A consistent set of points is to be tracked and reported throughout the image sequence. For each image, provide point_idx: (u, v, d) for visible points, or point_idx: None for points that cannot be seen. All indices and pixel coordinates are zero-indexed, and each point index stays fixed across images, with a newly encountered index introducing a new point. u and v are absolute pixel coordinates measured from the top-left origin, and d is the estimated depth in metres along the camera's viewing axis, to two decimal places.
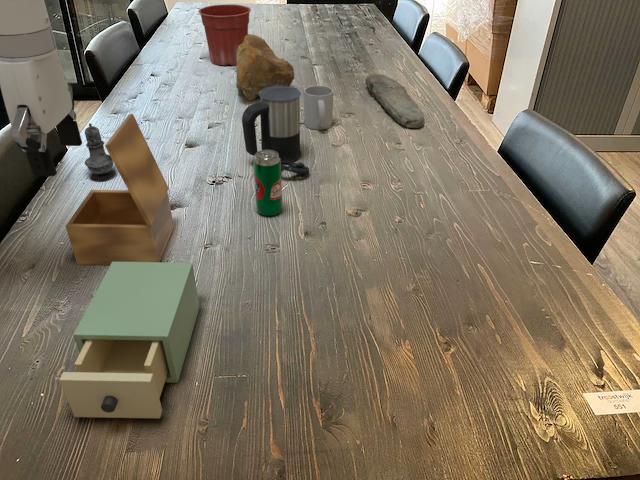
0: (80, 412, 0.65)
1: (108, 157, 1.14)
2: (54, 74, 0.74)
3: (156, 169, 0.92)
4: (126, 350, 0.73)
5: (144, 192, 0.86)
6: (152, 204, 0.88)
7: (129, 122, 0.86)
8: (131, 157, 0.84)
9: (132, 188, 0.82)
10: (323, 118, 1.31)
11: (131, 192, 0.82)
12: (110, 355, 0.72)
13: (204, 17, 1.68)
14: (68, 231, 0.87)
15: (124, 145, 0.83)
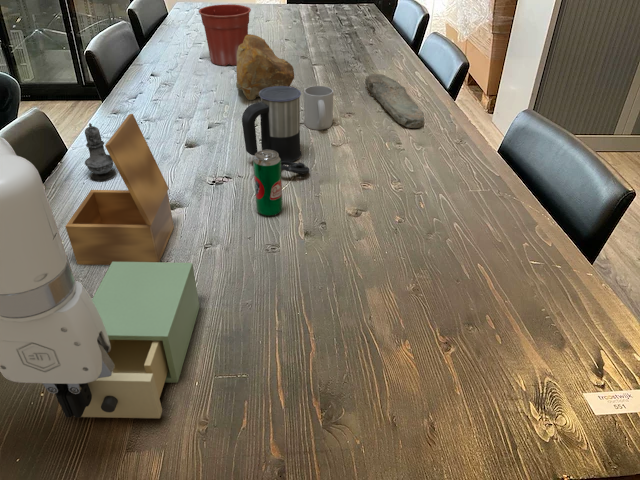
0: None
1: (108, 157, 1.14)
2: None
3: (156, 169, 0.92)
4: (126, 350, 0.73)
5: (144, 192, 0.86)
6: (152, 204, 0.88)
7: (129, 122, 0.86)
8: (131, 157, 0.84)
9: (132, 188, 0.82)
10: (323, 118, 1.31)
11: (131, 192, 0.82)
12: (110, 355, 0.72)
13: (204, 17, 1.68)
14: (68, 231, 0.87)
15: (124, 145, 0.83)
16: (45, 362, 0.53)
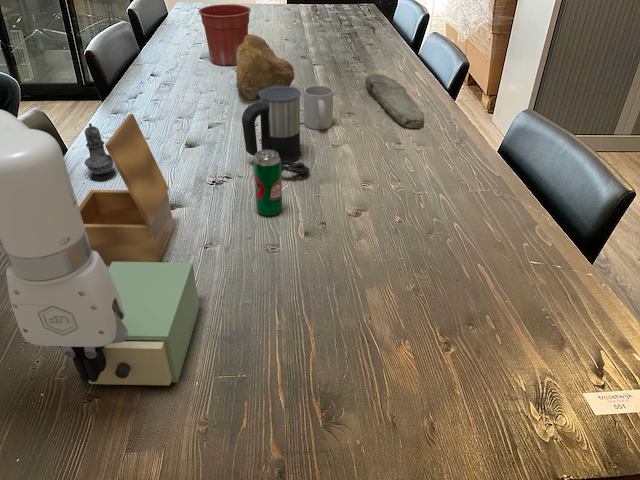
0: None
1: (108, 157, 1.14)
2: None
3: (156, 169, 0.92)
4: None
5: (144, 192, 0.86)
6: (152, 204, 0.88)
7: (129, 122, 0.86)
8: (131, 157, 0.84)
9: (132, 188, 0.82)
10: (323, 118, 1.31)
11: (131, 192, 0.82)
12: None
13: (204, 17, 1.68)
14: None
15: (124, 145, 0.83)
16: (64, 325, 0.57)
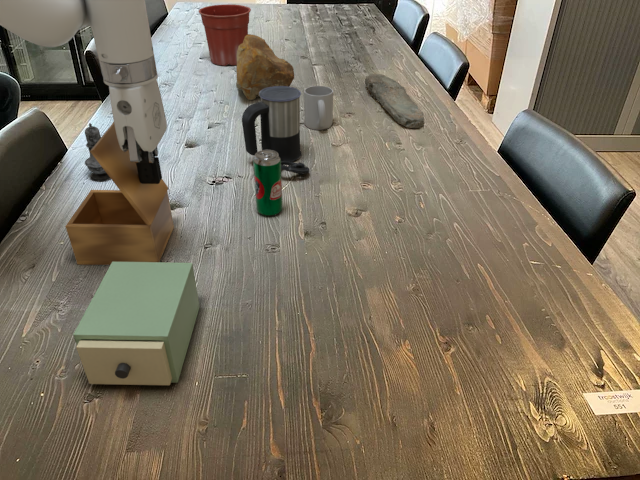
0: (95, 379, 0.69)
1: None
2: None
3: None
4: None
5: (139, 193, 0.86)
6: (150, 204, 0.88)
7: None
8: (121, 160, 0.84)
9: (125, 190, 0.83)
10: (323, 118, 1.31)
11: (125, 194, 0.83)
12: None
13: (204, 17, 1.68)
14: (68, 231, 0.87)
15: (112, 149, 0.83)
16: (157, 119, 0.82)
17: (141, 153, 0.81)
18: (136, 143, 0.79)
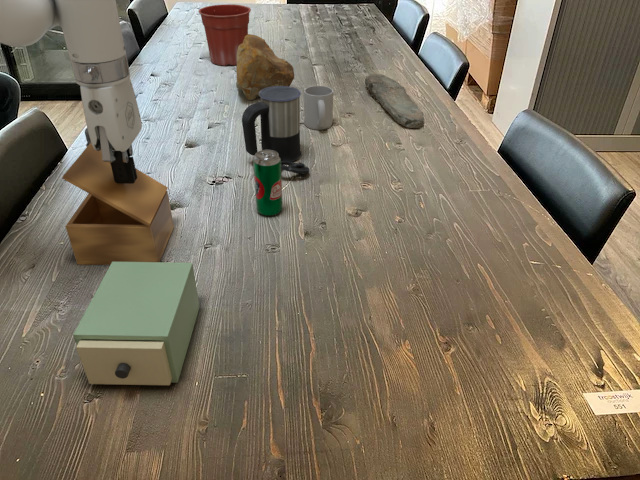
0: (95, 379, 0.69)
1: None
2: None
3: (142, 176, 0.93)
4: None
5: (129, 199, 0.87)
6: (145, 207, 0.88)
7: (88, 150, 0.89)
8: (100, 176, 0.86)
9: (110, 201, 0.84)
10: (323, 118, 1.31)
11: (112, 205, 0.84)
12: None
13: (204, 17, 1.68)
14: (68, 231, 0.87)
15: (87, 170, 0.85)
16: (131, 119, 0.82)
17: (114, 153, 0.81)
18: (109, 143, 0.79)
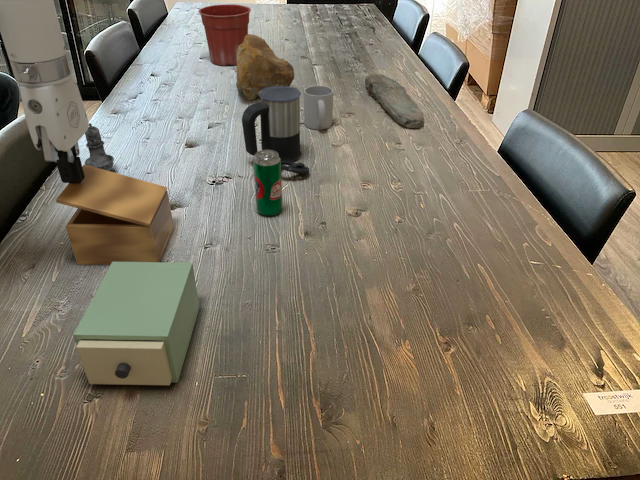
0: (95, 379, 0.69)
1: (108, 157, 1.14)
2: None
3: (139, 183, 0.94)
4: None
5: (126, 206, 0.87)
6: (144, 209, 0.88)
7: None
8: (95, 192, 0.88)
9: (106, 211, 0.85)
10: (323, 118, 1.31)
11: (109, 215, 0.85)
12: None
13: (204, 17, 1.68)
14: (68, 231, 0.87)
15: (81, 189, 0.87)
16: (75, 119, 0.82)
17: (58, 152, 0.81)
18: (50, 142, 0.79)
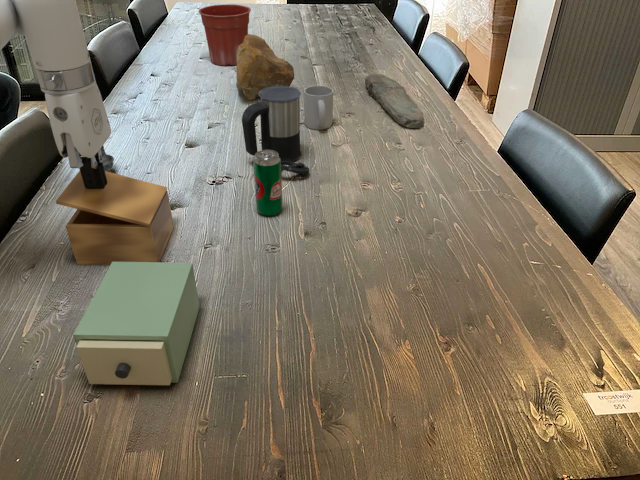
0: (95, 379, 0.69)
1: (108, 157, 1.14)
2: None
3: (139, 183, 0.94)
4: None
5: (126, 206, 0.87)
6: (144, 209, 0.88)
7: None
8: (94, 193, 0.88)
9: (106, 212, 0.85)
10: (323, 118, 1.31)
11: (109, 215, 0.85)
12: None
13: (204, 17, 1.68)
14: (68, 231, 0.87)
15: (81, 190, 0.87)
16: (98, 125, 0.83)
17: (82, 159, 0.82)
18: (75, 149, 0.80)
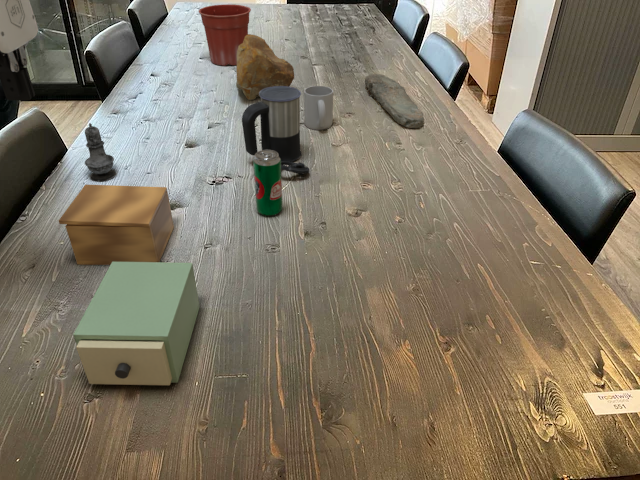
0: (95, 379, 0.69)
1: (108, 157, 1.14)
2: None
3: (139, 189, 0.94)
4: None
5: (126, 212, 0.88)
6: (143, 211, 0.89)
7: (82, 191, 0.93)
8: (95, 206, 0.89)
9: (106, 221, 0.86)
10: (323, 118, 1.31)
11: (109, 224, 0.86)
12: None
13: (204, 17, 1.68)
14: (68, 231, 0.87)
15: (82, 206, 0.89)
16: (18, 16, 0.68)
17: None
18: None
